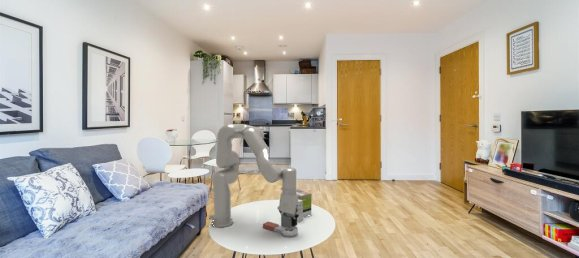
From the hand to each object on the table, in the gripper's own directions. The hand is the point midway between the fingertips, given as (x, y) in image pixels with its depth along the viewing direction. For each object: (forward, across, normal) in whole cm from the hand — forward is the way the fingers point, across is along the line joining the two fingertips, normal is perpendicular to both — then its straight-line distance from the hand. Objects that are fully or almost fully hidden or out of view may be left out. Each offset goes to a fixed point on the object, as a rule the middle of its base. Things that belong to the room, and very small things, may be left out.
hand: (289, 224), depth 141 cm
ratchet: (+5, -6, 0) cm, 8 cm away
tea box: (+6, -13, +29) cm, 32 cm away
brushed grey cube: (+1, 0, 0) cm, 1 cm away
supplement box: (+6, -9, +18) cm, 20 cm away
